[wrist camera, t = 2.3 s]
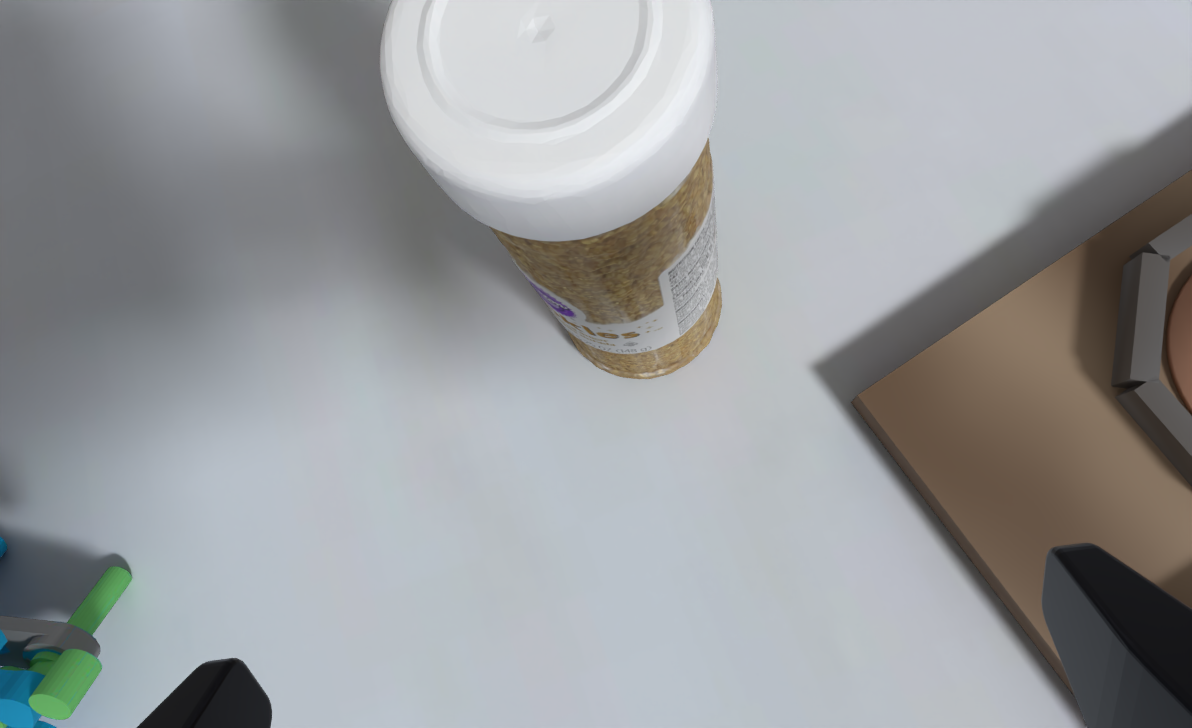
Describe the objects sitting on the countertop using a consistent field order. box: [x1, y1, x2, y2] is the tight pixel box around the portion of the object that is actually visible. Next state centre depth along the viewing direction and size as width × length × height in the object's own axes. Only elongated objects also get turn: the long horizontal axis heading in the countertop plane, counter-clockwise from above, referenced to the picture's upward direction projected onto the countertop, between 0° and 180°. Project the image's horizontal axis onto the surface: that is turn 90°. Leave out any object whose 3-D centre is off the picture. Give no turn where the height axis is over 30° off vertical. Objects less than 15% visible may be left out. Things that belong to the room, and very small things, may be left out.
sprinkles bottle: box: [379, 0, 722, 379], centre depth 17 cm, size 5×5×14 cm
